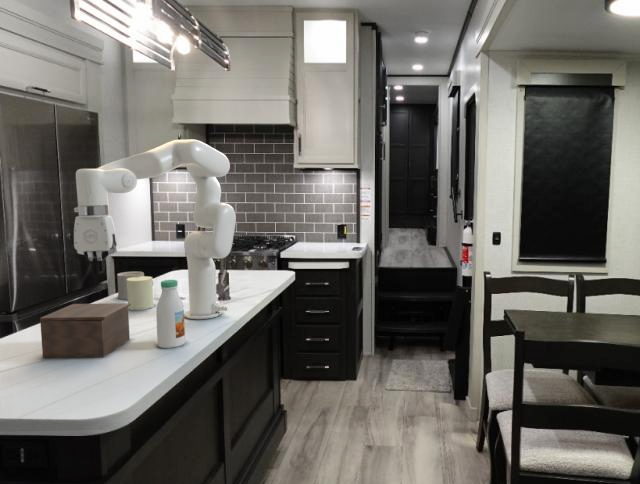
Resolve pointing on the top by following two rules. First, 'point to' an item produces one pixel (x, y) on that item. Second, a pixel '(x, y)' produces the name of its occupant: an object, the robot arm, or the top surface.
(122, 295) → the coffee mug
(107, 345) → the bin
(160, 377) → the top surface
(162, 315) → the milk bottle
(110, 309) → the bin lid
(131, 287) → the can
